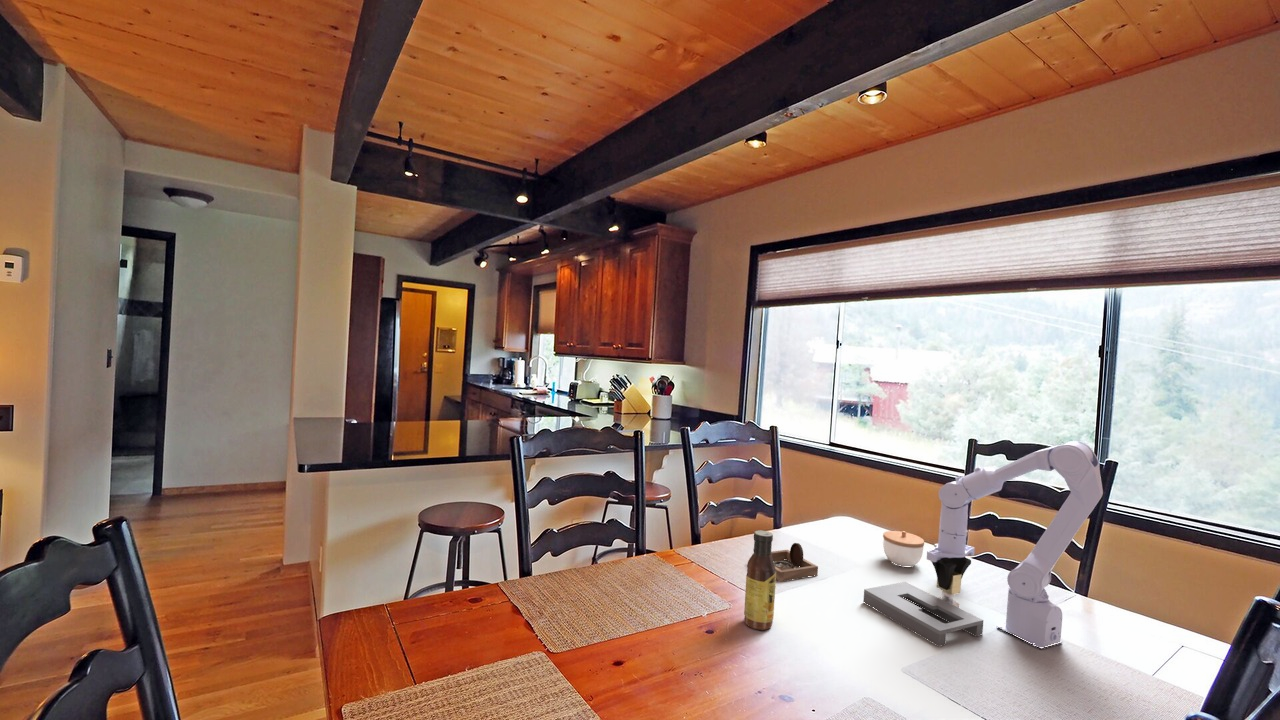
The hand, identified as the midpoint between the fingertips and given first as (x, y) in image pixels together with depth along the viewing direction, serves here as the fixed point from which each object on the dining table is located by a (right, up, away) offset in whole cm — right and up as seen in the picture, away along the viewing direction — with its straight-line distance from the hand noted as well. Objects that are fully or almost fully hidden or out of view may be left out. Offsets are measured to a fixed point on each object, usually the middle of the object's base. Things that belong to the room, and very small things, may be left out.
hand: (948, 587), depth 133 cm
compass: (-35, -3, +16) cm, 39 cm away
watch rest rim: (-35, -2, +17) cm, 39 cm away
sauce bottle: (-49, -3, -13) cm, 51 cm away
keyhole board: (-10, -4, -7) cm, 13 cm away
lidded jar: (+1, -4, +26) cm, 26 cm away
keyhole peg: (0, -5, 0) cm, 5 cm away
